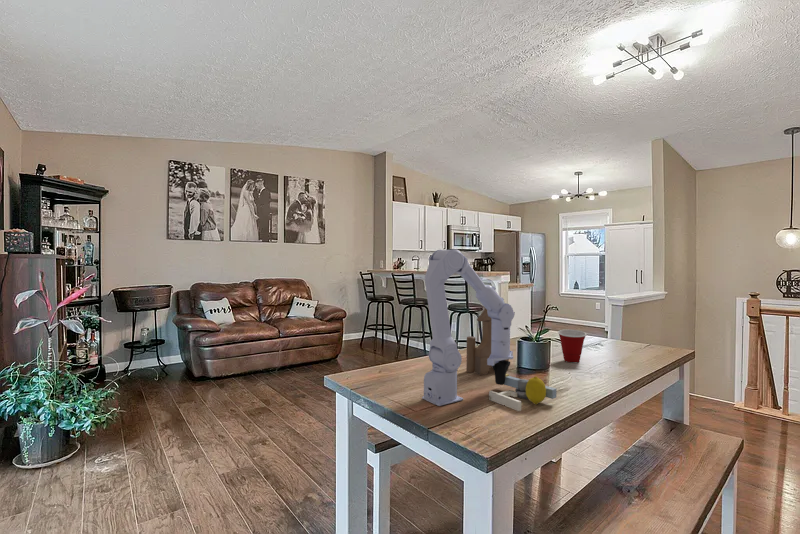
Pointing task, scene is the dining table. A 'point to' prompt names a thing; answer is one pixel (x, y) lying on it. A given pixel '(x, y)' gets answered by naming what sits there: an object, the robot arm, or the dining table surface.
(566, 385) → the dining table surface
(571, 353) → the plastic cup
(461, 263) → the robot arm
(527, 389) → the lemon
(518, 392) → the base
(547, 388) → the lever
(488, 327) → the wooden toy
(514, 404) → the cream l-shaped bracket
